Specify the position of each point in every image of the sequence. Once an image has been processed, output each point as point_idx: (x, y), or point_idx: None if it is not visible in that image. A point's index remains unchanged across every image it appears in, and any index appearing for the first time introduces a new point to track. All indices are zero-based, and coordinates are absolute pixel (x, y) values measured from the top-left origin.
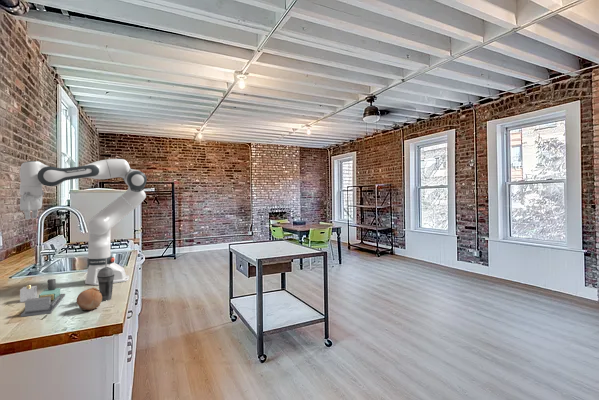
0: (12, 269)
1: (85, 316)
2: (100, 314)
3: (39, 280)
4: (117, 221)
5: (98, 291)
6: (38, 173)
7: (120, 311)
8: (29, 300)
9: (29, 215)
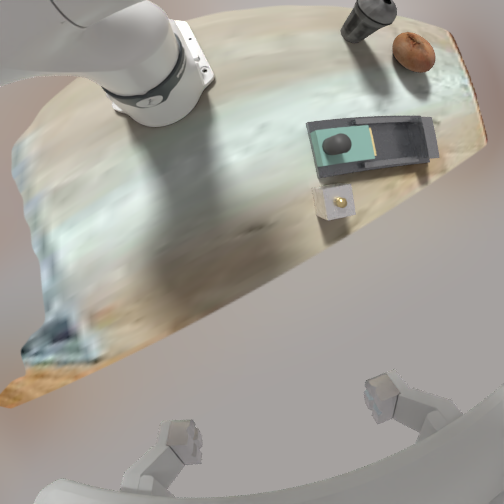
0: (45, 382)
1: None
2: None
3: (120, 280)
4: None
5: (414, 34)
6: None
7: (412, 20)
8: (437, 150)
9: (415, 390)
